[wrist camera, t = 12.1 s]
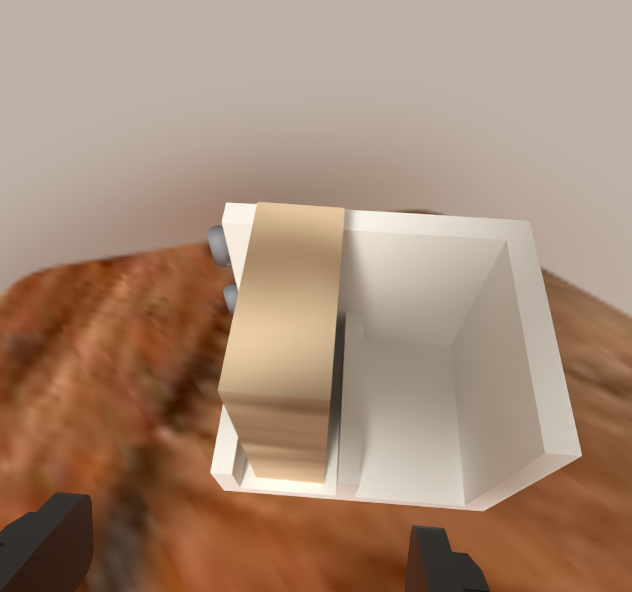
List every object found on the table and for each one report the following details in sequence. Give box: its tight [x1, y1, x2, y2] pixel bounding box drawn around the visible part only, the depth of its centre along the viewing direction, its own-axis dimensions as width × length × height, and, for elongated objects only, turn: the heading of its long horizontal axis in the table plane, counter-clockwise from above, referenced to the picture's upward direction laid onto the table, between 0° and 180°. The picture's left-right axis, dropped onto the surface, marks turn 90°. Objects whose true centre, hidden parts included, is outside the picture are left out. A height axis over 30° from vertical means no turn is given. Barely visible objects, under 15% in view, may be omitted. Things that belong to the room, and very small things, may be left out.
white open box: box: [207, 203, 582, 511], centre depth 24 cm, size 10×15×11 cm
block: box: [218, 202, 345, 484], centre depth 22 cm, size 8×4×12 cm, turn 175°
